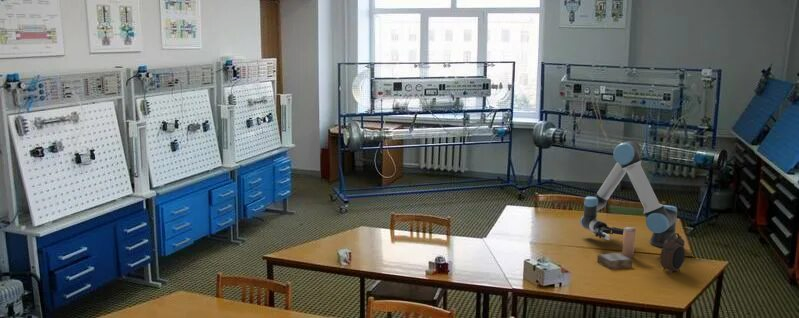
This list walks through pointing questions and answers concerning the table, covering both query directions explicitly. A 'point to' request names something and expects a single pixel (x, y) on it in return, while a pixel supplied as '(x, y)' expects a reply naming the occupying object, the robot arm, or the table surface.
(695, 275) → the table surface
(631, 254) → the canister
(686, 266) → the table surface
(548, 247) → the table surface
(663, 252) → the alarm clock
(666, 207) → the robot arm
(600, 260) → the base stand
